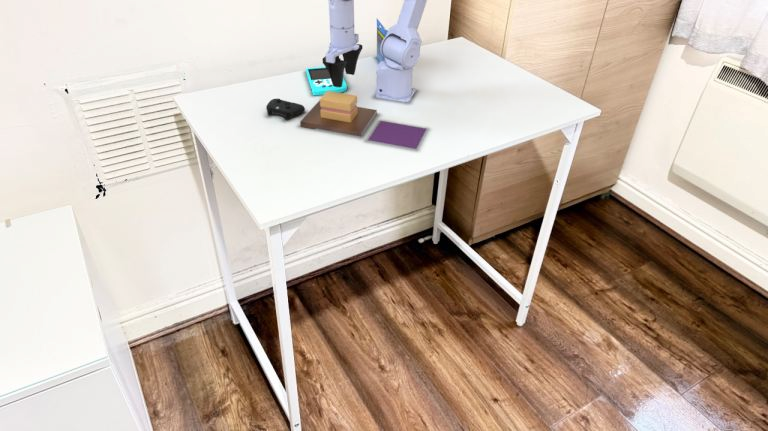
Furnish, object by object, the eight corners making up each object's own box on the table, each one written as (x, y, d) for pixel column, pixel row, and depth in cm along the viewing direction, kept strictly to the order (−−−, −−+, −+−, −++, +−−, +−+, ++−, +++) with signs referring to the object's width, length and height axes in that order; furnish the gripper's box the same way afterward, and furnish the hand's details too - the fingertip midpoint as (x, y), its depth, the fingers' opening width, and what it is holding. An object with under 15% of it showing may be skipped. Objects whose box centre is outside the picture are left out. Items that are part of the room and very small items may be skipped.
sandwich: (320, 117, 131) (319, 99, 128) (328, 108, 135) (327, 90, 132) (350, 122, 129) (350, 104, 126) (357, 113, 133) (357, 95, 130)
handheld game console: (312, 95, 143) (312, 91, 143) (305, 71, 155) (305, 67, 155) (348, 92, 145) (348, 87, 144) (338, 69, 157) (338, 64, 156)
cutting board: (300, 126, 130) (300, 121, 129) (319, 105, 139) (319, 100, 138) (361, 137, 127) (361, 132, 126) (376, 115, 136) (376, 109, 135)
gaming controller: (307, 107, 136) (297, 99, 130) (300, 127, 136) (290, 119, 130) (276, 99, 139) (264, 91, 133) (269, 118, 139) (258, 111, 133)
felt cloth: (367, 141, 125) (367, 140, 125) (380, 121, 133) (380, 120, 133) (416, 149, 123) (416, 148, 123) (426, 129, 130) (426, 128, 130)
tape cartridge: (396, 67, 159) (397, 26, 151) (383, 68, 158) (384, 27, 150) (387, 56, 166) (388, 16, 158) (375, 57, 165) (376, 17, 157)
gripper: (344, 38, 115) (346, 94, 123) (369, 17, 125) (370, 71, 134) (315, 33, 117) (319, 89, 125) (343, 13, 127) (344, 66, 136)
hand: (343, 79), depth 130 cm, fingers open, 7 cm apart
